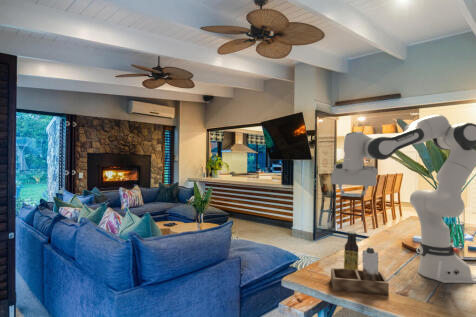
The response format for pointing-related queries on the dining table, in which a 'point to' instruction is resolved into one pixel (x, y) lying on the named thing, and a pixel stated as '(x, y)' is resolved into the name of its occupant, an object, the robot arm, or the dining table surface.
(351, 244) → the sauce bottle
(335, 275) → the condiment caddy
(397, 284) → the dining table surface
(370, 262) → the pepper mill
